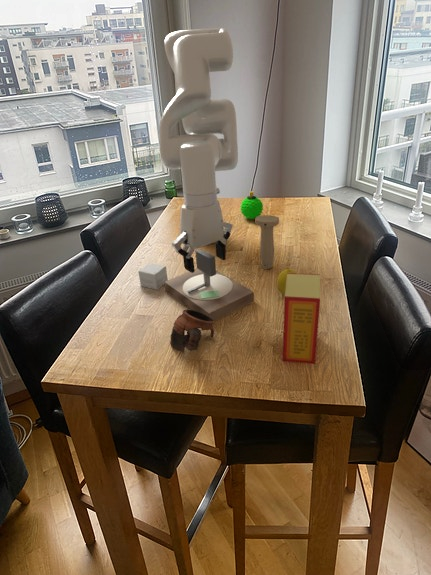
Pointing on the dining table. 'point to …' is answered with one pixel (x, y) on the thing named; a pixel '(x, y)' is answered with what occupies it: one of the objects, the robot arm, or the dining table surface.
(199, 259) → the grey block with rod
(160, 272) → the small box
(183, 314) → the broken clay pot
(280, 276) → the lemon
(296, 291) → the baking soda box
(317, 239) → the dining table surface
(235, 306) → the board
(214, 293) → the dial
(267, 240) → the handle
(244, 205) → the ornament
